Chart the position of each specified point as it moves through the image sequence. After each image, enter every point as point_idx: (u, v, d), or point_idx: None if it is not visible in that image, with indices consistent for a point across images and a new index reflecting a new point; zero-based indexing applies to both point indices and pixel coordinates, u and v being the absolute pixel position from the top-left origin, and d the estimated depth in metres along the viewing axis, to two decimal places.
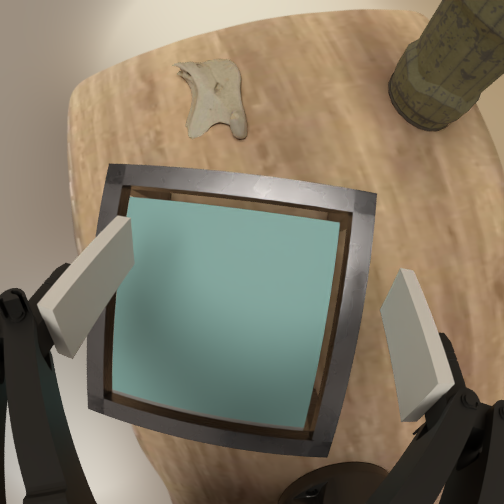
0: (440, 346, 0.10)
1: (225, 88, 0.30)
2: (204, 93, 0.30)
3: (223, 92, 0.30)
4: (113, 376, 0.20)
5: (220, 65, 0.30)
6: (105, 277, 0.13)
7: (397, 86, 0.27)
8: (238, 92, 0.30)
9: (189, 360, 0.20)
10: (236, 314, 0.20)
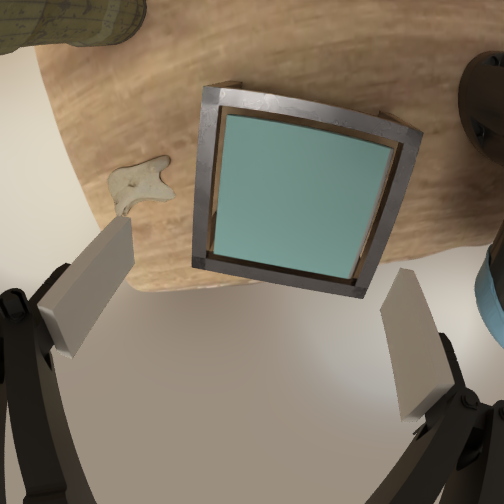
0: (440, 346, 0.10)
1: (132, 178, 0.39)
2: (138, 193, 0.40)
3: (135, 179, 0.39)
4: (338, 276, 0.32)
5: (113, 185, 0.41)
6: (105, 277, 0.13)
7: (109, 43, 0.28)
8: (133, 168, 0.38)
9: (326, 223, 0.29)
10: (293, 189, 0.27)
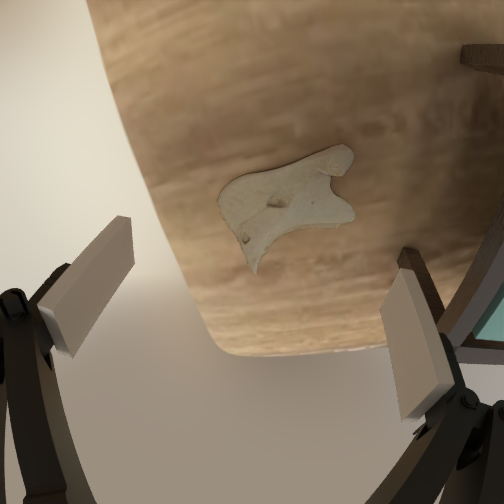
0: (440, 346, 0.10)
1: (275, 192, 0.22)
2: (291, 219, 0.23)
3: (282, 192, 0.22)
4: None
5: (233, 209, 0.24)
6: (105, 277, 0.13)
7: None
8: (278, 172, 0.21)
9: None
10: None
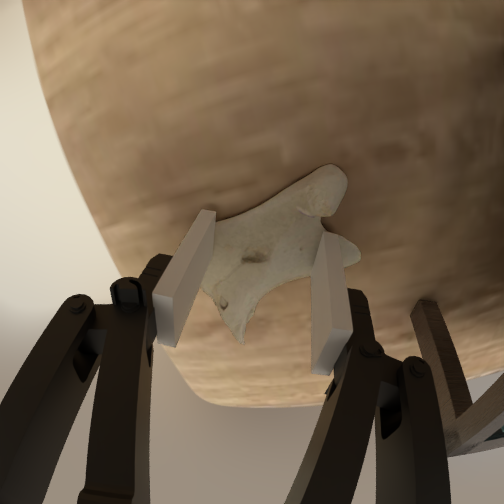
0: (345, 297, 0.11)
1: (249, 242, 0.17)
2: (276, 274, 0.17)
3: (258, 242, 0.17)
4: None
5: None
6: (199, 267, 0.14)
7: None
8: (247, 217, 0.16)
9: None
10: None
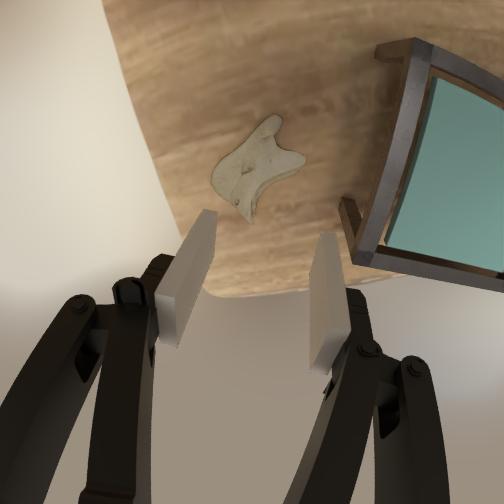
0: (343, 296, 0.12)
1: (243, 163, 0.32)
2: (260, 176, 0.32)
3: (247, 161, 0.32)
4: (495, 270, 0.24)
5: (222, 185, 0.33)
6: (201, 267, 0.14)
7: None
8: (239, 149, 0.31)
9: (502, 213, 0.21)
10: (485, 174, 0.19)
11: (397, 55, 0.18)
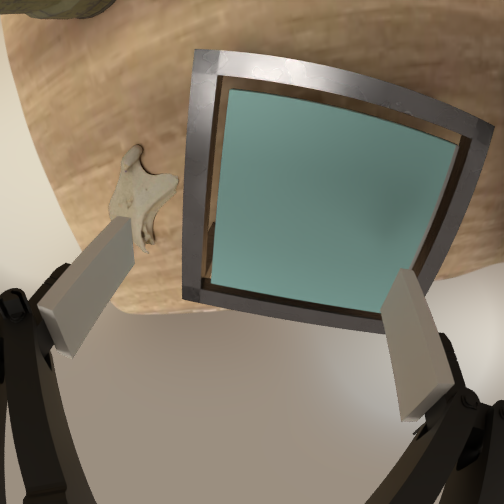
0: (440, 346, 0.10)
1: (125, 198, 0.32)
2: (141, 207, 0.32)
3: (128, 196, 0.32)
4: (374, 311, 0.24)
5: None
6: (105, 277, 0.13)
7: (81, 14, 0.19)
8: (117, 186, 0.31)
9: (366, 245, 0.20)
10: (324, 198, 0.19)
11: None
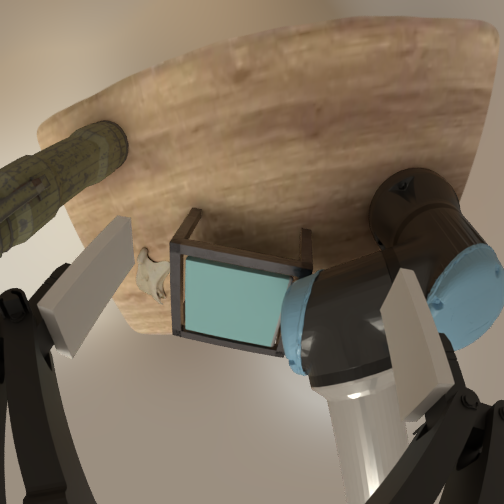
0: (440, 346, 0.10)
1: (144, 276, 0.58)
2: (154, 280, 0.57)
3: (145, 274, 0.58)
4: (264, 344, 0.50)
5: (143, 288, 0.60)
6: (105, 277, 0.13)
7: None
8: (138, 270, 0.57)
9: (252, 318, 0.46)
10: (229, 300, 0.45)
11: None
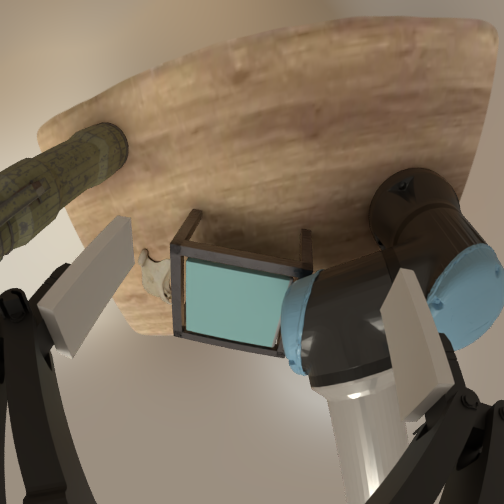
0: (440, 346, 0.10)
1: (149, 278, 0.58)
2: (158, 280, 0.57)
3: (150, 276, 0.58)
4: (265, 345, 0.50)
5: (151, 291, 0.60)
6: (105, 277, 0.13)
7: None
8: (142, 273, 0.57)
9: (252, 318, 0.46)
10: (230, 301, 0.45)
11: None
